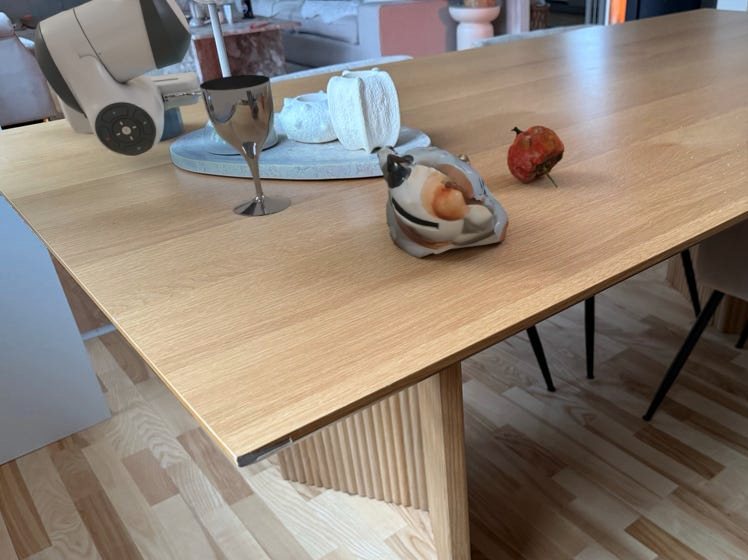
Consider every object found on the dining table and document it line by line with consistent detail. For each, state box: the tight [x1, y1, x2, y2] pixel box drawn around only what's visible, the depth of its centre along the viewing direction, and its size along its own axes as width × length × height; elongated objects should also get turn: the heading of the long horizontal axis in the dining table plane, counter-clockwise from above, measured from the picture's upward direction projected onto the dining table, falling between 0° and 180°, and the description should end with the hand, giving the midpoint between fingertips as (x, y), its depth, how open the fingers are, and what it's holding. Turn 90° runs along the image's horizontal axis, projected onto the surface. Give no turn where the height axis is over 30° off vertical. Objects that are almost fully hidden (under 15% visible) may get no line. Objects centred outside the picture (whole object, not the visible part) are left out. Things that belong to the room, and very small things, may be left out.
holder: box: [159, 107, 186, 142], centre depth 119 cm, size 11×11×4 cm
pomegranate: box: [506, 125, 565, 188], centre depth 91 cm, size 7×7×10 cm
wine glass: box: [200, 74, 292, 217], centre depth 85 cm, size 8×8×15 cm
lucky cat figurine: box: [376, 145, 510, 259], centre depth 73 cm, size 15×12×14 cm
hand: (133, 84), depth 112 cm, fingers open, 8 cm apart
